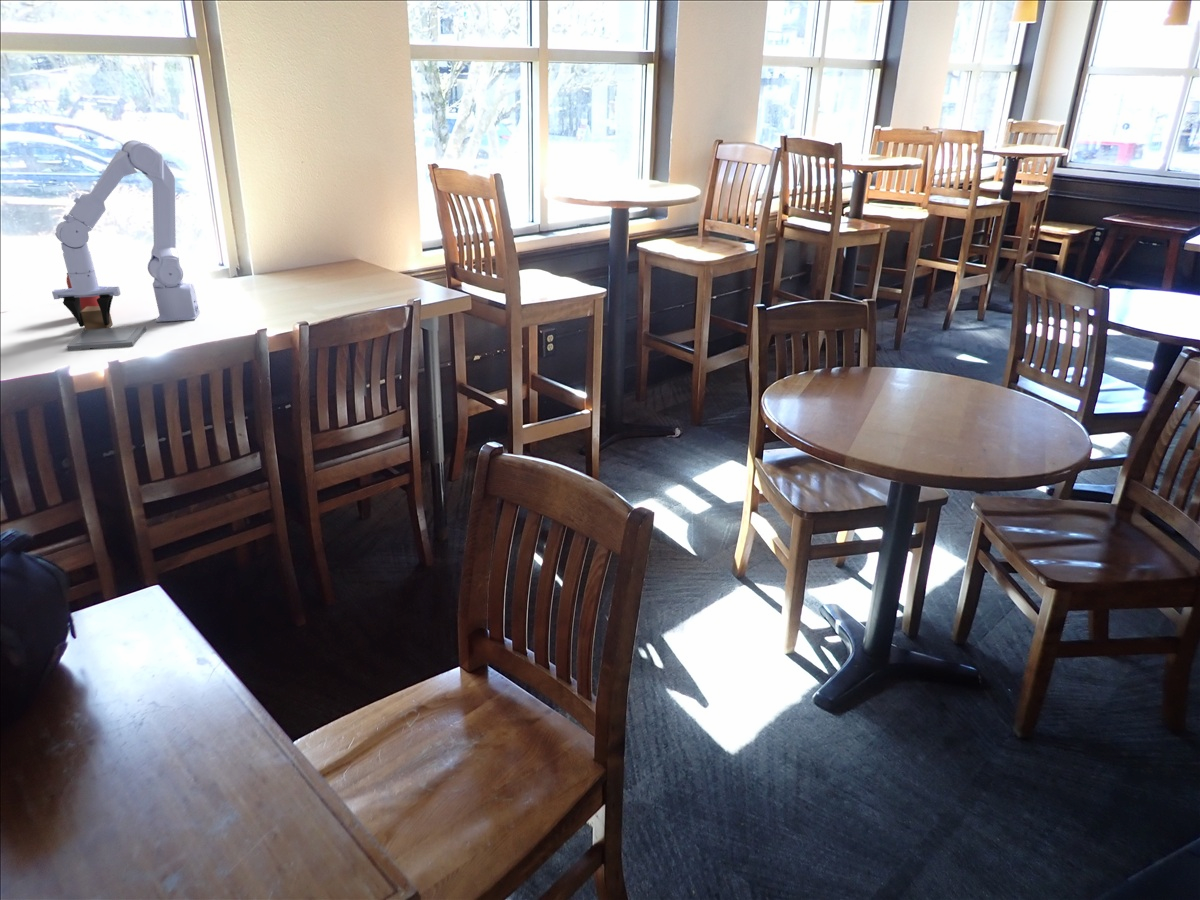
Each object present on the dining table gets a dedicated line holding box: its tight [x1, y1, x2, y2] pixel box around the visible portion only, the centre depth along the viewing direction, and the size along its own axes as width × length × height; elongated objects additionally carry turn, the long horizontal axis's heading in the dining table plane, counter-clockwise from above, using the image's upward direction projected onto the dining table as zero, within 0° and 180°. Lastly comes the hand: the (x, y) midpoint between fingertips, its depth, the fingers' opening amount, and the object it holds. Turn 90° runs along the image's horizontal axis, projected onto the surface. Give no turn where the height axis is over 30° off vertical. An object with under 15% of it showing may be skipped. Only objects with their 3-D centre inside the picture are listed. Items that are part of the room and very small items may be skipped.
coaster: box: [66, 325, 147, 351], centre depth 204 cm, size 14×14×1 cm
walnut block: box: [81, 306, 114, 329], centre depth 213 cm, size 5×5×5 cm
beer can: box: [66, 272, 100, 310], centre depth 220 cm, size 7×7×12 cm
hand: (95, 325), depth 211 cm, fingers closed on walnut block, 5 cm apart
